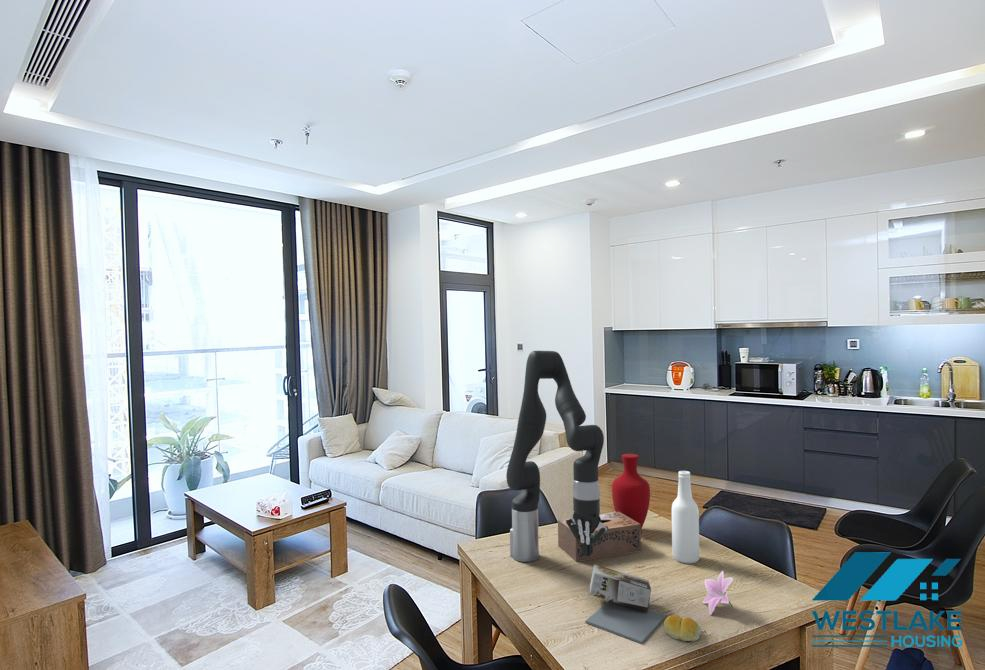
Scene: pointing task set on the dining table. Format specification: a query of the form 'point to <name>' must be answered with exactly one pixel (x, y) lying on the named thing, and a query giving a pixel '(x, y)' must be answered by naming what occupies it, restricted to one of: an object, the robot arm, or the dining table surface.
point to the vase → (631, 491)
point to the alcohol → (685, 523)
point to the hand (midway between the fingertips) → (587, 555)
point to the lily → (717, 591)
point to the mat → (626, 621)
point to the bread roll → (682, 628)
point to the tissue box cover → (603, 538)
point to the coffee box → (620, 588)
